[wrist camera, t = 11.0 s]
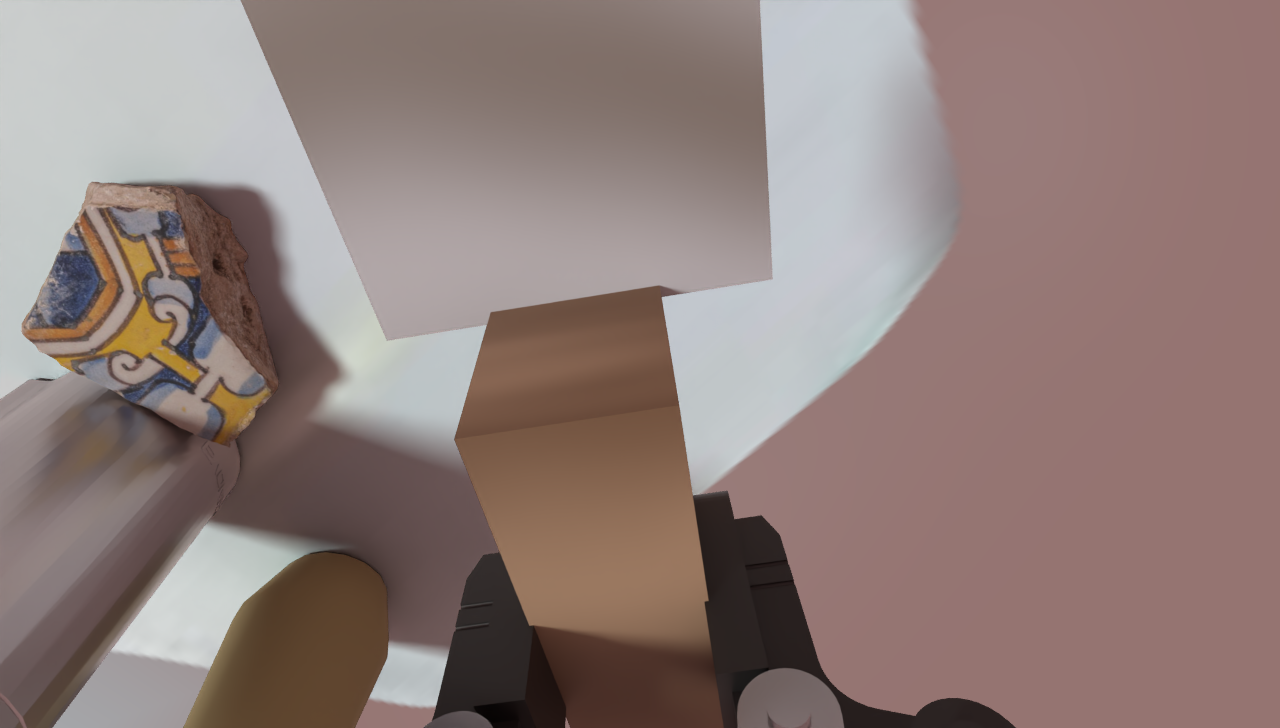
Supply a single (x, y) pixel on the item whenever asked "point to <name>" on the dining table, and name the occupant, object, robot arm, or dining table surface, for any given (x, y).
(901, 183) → the dining table surface
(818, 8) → the dining table surface
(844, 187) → the dining table surface
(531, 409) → the wooden bar with blade
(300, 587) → the squeeze bottle
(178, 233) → the ceramic tile fragment
